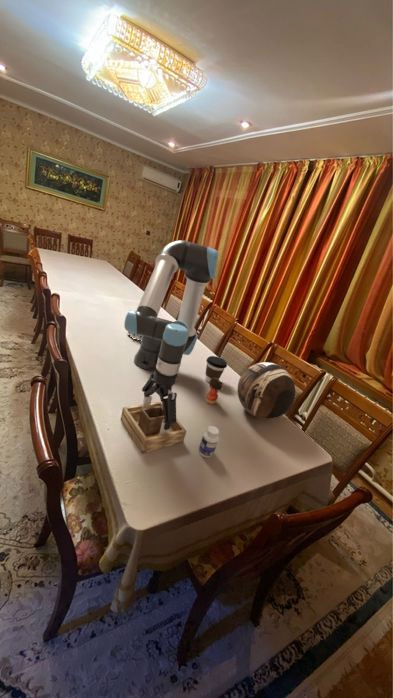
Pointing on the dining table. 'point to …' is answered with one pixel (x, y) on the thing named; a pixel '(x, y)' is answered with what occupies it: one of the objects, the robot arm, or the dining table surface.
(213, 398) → the figurine
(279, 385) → the sphere
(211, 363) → the coffee cup
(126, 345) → the dining table surface
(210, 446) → the pill bottle
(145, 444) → the oak crate
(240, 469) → the dining table surface
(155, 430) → the walnut crate
